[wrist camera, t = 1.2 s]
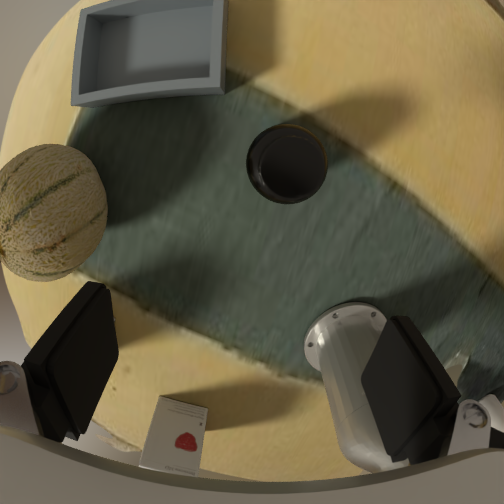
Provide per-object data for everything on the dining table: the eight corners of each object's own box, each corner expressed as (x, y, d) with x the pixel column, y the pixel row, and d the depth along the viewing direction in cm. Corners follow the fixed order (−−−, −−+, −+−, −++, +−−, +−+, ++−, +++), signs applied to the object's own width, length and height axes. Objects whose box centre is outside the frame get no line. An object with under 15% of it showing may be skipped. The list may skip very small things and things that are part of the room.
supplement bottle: (293, 116, 30) (315, 105, 18) (320, 171, 32) (355, 191, 21) (236, 145, 31) (227, 149, 20) (266, 198, 33) (273, 232, 22)
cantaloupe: (141, 156, 31) (68, 174, 17) (115, 266, 36) (57, 333, 22) (47, 129, 29) (-37, 140, 15) (32, 230, 34) (-37, 274, 20)
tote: (228, 1, 24) (224, -17, 20) (224, 94, 29) (220, 87, 24) (99, 21, 24) (80, 9, 20) (92, 107, 29) (70, 105, 24)
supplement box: (209, 407, 46) (200, 480, 32) (201, 432, 49) (192, 497, 35) (158, 394, 45) (137, 465, 31) (155, 420, 48) (138, 484, 34)
